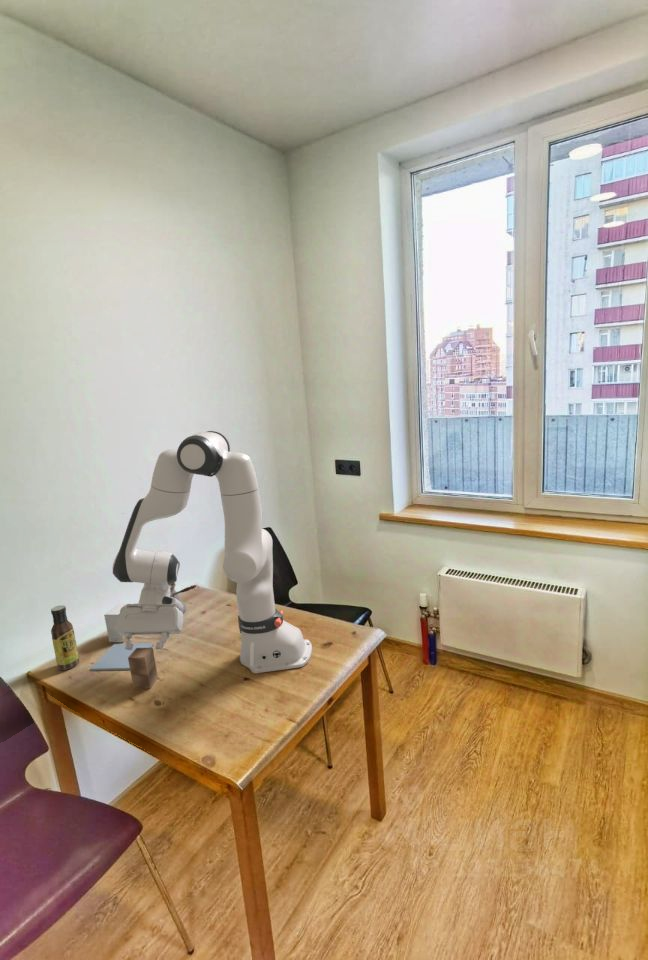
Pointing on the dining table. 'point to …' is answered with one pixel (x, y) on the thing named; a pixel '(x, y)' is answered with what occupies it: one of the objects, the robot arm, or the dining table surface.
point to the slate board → (117, 657)
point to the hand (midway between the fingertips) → (143, 649)
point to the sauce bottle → (63, 639)
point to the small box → (113, 624)
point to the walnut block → (143, 668)
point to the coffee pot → (176, 596)
